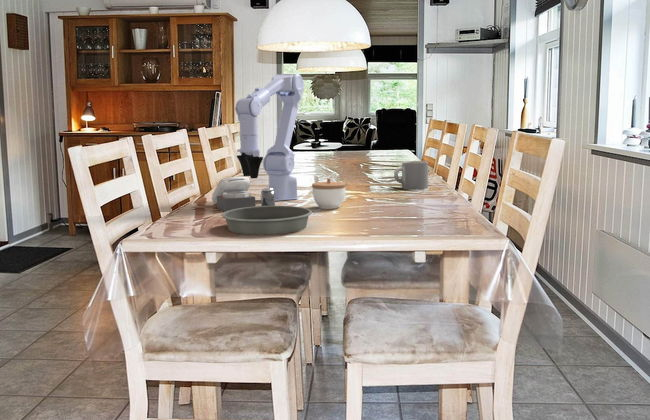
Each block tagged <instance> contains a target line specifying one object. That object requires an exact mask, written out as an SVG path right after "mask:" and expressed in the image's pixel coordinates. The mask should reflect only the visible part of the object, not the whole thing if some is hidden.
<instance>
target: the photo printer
mask: <svg viewBox="0 0 650 420" xmlns="http://www.w3.org/2000/svg"><path fill="white" fill-rule="evenodd" d="M250 187H251V181H250V178H249V177H248V176H229V177H225V178H222V179H220V181H219V183H218V184H217V186H216V188H215V189H214V191H213V193H212V196H211V200H212V202H213V203H214V204H215V205H217V196H221V195H222V193H224V192H230V191H247V192H248V190H250Z"/></svg>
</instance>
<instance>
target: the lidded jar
mask: <svg viewBox="0 0 650 420" xmlns="http://www.w3.org/2000/svg"><path fill="white" fill-rule="evenodd" d="M346 185H347V184H346V182H342V181H331V178H330V177H329V178H328V177H327V178H326V181H318V182H313V183H311V188H312V196H313V200H314V202H315V204H316V205H317V206H318V207H319V209H324V210H332V209H333V210H335V209H338V208H339V207H340V206H341V205H342V204H343V202H344V200H345V197H346Z"/></svg>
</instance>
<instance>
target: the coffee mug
mask: <svg viewBox="0 0 650 420" xmlns="http://www.w3.org/2000/svg"><path fill="white" fill-rule="evenodd" d="M399 172H401V178H399ZM393 177H394V180H395V182H397V183H399V184H401V188H402V189H403V190H404V189H405V190H425V188H426V189H428V188H429V161H425V160H405V161H402V162H401V166H399V167H396V168H395V170H394V173H393Z"/></svg>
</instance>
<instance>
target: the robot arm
mask: <svg viewBox="0 0 650 420" xmlns="http://www.w3.org/2000/svg"><path fill="white" fill-rule="evenodd" d="M304 87H305V84H304V79H303V77H302V75H301V74H300V73H294V74H293V73H291V74H278V73H277V74H275V75H274V76H272V77H271V81H269V83H267V84H266V85H265V87H256V88H254V91H253V92H251V93H249V94H247V96H246V97H245V98H244V97H243V98H239V100H237V101H236V104H235V108H234V109H235V113H236V115H237V120H238V122H239V137H240V139H239V140H240V148H239V149H236V152H237V153H238V152H239V154H237V155H236V158H237V160H238V161H239V165H240V167H241V172H242V175H243V177H250V179H251V180H252V179H258V177H259V172H260V167H261V164H262V167H263V169H264V171H265V172H266V175H268V188H274V191H275V202H277V201H287V200H289V201H290V200H291V201H292V200H299V197H298V182H297V176H296V174H295V173H292V172H293V171H294V169H295V155H296V154H295V152H294V151H293V150H292V149H290V147H291V146H290V145H291V143H292V137H293V132H294V129H295V125H296V120H297V115H298V110H299V106H300V102H301V100H302V97H303V92H304ZM274 95H276V97H277V98H278V99H279V101H280V102H282V103H283V106H282V110H281V115H280V120H279V123H278V128H277V132H276V136H275V141H274V145H272V146H271V147H270V148H268V149H267V151H266V154H265V156H260V154H261V153H260V152H261V151H260V149H259V129H258V126H259V125H258V116H259V115H260V114H261V112H262V111H261V110H262V108H263V107H265V106H266V105H267V104H268V103H270V101H271V97H272V96H274Z"/></svg>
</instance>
